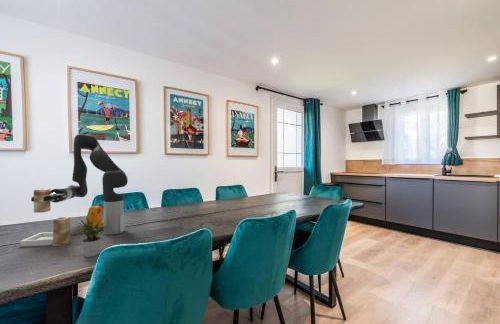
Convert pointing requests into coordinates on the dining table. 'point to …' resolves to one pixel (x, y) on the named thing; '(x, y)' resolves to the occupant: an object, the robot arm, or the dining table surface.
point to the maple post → (41, 200)
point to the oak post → (61, 231)
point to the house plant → (91, 238)
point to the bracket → (95, 215)
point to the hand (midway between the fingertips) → (38, 199)
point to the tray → (38, 240)
